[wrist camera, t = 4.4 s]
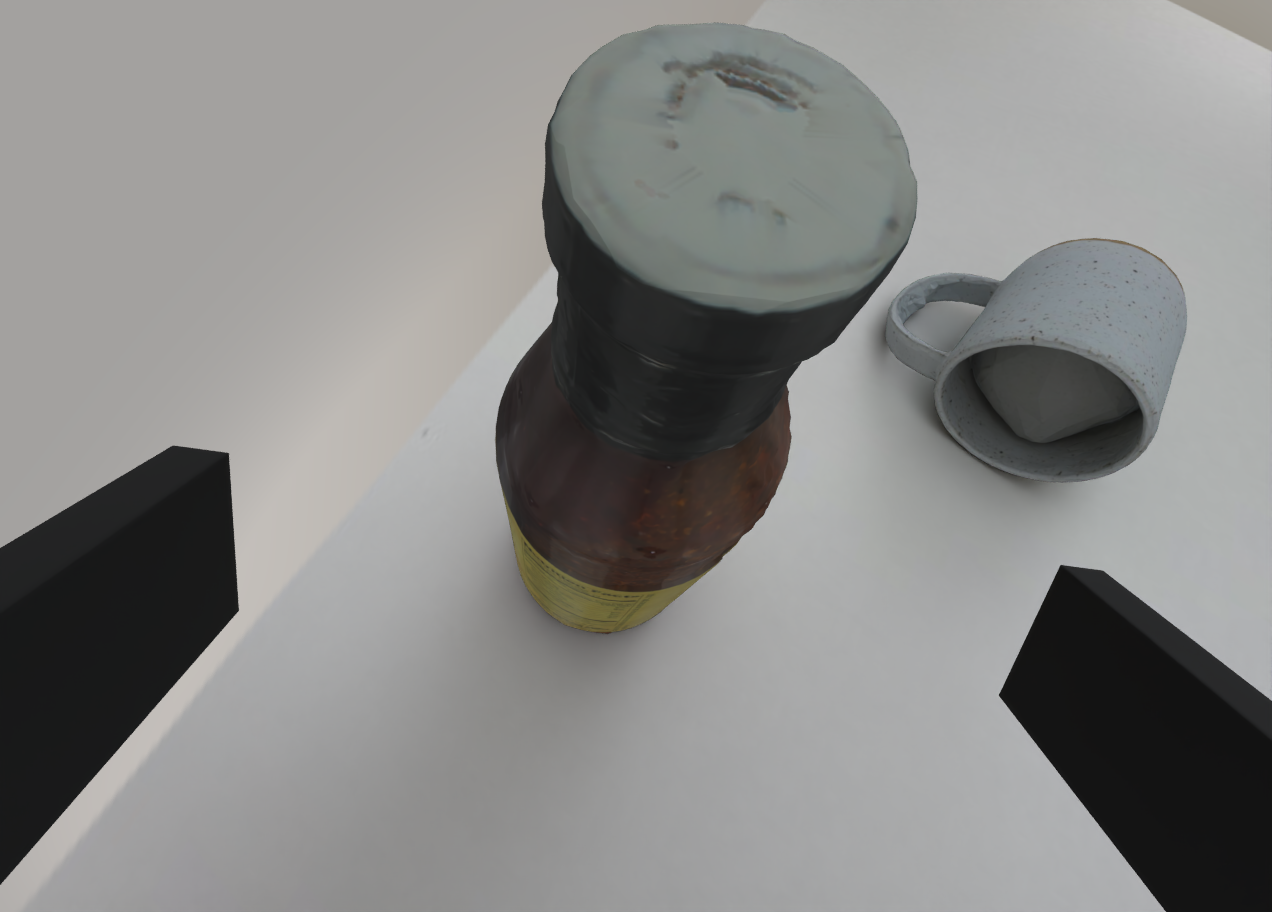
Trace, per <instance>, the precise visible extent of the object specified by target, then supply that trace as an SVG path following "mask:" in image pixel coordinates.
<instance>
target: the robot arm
mask: <svg viewBox="0 0 1272 912" xmlns="http://www.w3.org/2000/svg"><path fill="white" fill-rule="evenodd" d="M238 611H239V607H238V591H237V575H236V560H235V544H234V528H233V512H232V497H231V481H230V465H229V453H224V452H216V451H209V450H202V449H194V448H187V447H179V446H172V447H170V448H168V449H166V450H165V451H163V452H161V453H160V454H158V455H156V456H155V457H153V458H151V459H150V460H148V461H146V462H144V463H143V464H141V465H139V466H138V467H136V468H135V469H133V470H131V471H129V472H128V473H126V474H124V475H123V476H121V477H119V478H118V479H116V480H114V481H113V482H111V483H109V484H107V485H106V486H104V487H102V488H101V489H99V490H97V491H96V492H94V493H92V494H91V495H89V496H87V497H86V498H84V499H82V500H80V501H79V502H77V503H75V504H74V505H72V506H70V507H69V508H67V509H65V510H64V511H62V512H61V513H59V514H57V515H55V516H54V517H52V518H50V519H49V520H47V521H45V522H44V523H42V524H40V525H39V526H37V527H35V528H33V529H32V530H30V531H29V532H27V533H25V534H23V535H22V536H20V537H18V538H17V539H15V540H13V541H11V542H10V543H8V544H7V545H5V546H3V547H1V548H0V885H1V883H2V882H3V881H4V880H5V879H6V878H7V876H8V875H9V874H10V873H11V872H12V871H13V870H14V868H15V867H16V866H17V865H18V864H19V863H20V862H21V860H22V859H23V858H24V857H25V856H26V855H27V854H28V852H29V851H30V850H31V849H32V848H33V846H34V845H35V844H36V843H37V842H38V841H39V840H40V839H41V837H42V836H43V835H44V834H45V833H46V832H47V831H48V829H49V828H50V827H51V826H52V825H53V824H54V822H55V821H56V820H57V819H58V818H59V817H60V816H61V814H62V813H63V812H64V811H65V810H66V809H67V808H68V806H69V805H70V804H71V803H72V802H73V800H74V799H75V798H76V797H77V796H78V795H79V794H80V792H81V791H82V790H83V789H84V788H85V787H86V786H87V784H88V783H89V782H90V781H91V780H92V779H93V778H94V776H95V775H96V774H97V773H98V772H99V771H100V770H101V768H102V767H103V766H104V765H105V764H106V763H107V762H108V760H109V759H110V758H111V757H112V756H113V755H114V754H115V752H116V751H117V750H118V749H119V748H120V747H121V745H122V744H123V743H124V742H125V741H126V740H127V738H128V737H129V736H130V735H131V734H132V733H133V732H134V731H135V729H136V728H137V727H138V726H139V725H140V724H141V723H142V721H143V720H144V719H145V718H146V717H147V716H148V714H149V713H150V712H151V711H152V710H153V709H154V708H155V706H156V705H157V704H158V703H159V702H160V701H161V699H162V698H163V697H164V696H165V695H166V694H167V693H168V691H169V690H170V689H171V688H172V687H173V686H174V685H175V683H176V682H177V681H178V680H179V679H180V678H181V676H182V675H183V674H184V673H185V672H186V671H187V670H188V668H189V667H190V666H191V665H192V664H193V663H194V662H195V660H196V659H197V658H198V657H199V656H200V654H202V652H203V651H204V650H205V649H206V648H207V647H208V645H209V644H210V643H211V642H212V641H213V640H214V639H215V637H216V636H217V635H218V634H219V633H220V632H221V631H222V629H223V628H224V627H225V626H226V625H227V624H228V622H229V621H230V620H231V619H232V618H233V617H234V616H235V614H236V613H237V612H238ZM999 696H1000V698H1001V699H1002V700H1003V701H1004V703H1005V704H1006V705H1007V707H1008V708H1009V709H1010V711H1011V712H1012V713H1013V714H1014V716H1015V717H1016V718H1017V720H1018V721H1019V722H1020V723H1021V725H1022V726H1023V727H1024V729H1025V730H1026V731H1027V733H1028V734H1029V735H1030V736H1031V738H1032V739H1033V740H1034V742H1035V743H1036V744H1037V745H1038V747H1039V748H1040V749H1041V751H1042V752H1043V753H1044V755H1045V756H1046V757H1047V758H1048V760H1049V761H1050V762H1051V764H1052V765H1053V766H1054V767H1055V769H1056V770H1057V771H1058V773H1059V774H1060V775H1061V777H1062V778H1063V779H1064V780H1065V782H1066V783H1067V784H1068V786H1069V787H1070V788H1071V789H1072V791H1073V792H1074V793H1075V795H1076V796H1077V797H1078V799H1079V800H1080V801H1081V802H1082V804H1083V805H1084V806H1085V808H1086V809H1087V810H1088V811H1089V813H1090V814H1091V815H1092V817H1093V818H1094V819H1095V821H1096V822H1097V823H1098V824H1099V826H1100V827H1101V828H1102V830H1103V831H1104V832H1105V833H1106V835H1107V836H1108V837H1109V839H1110V840H1111V841H1112V843H1113V844H1114V845H1115V846H1116V848H1117V849H1118V850H1119V852H1120V853H1121V854H1122V855H1123V857H1124V858H1125V859H1126V861H1127V862H1128V863H1129V865H1130V866H1131V867H1132V868H1133V870H1134V871H1135V872H1136V874H1137V875H1138V876H1139V877H1140V879H1141V880H1142V881H1143V883H1144V884H1145V885H1146V887H1147V888H1148V889H1149V890H1150V892H1151V893H1152V894H1153V896H1154V897H1155V898H1156V899H1157V901H1158V902H1159V903H1160V905H1161V906H1162V907H1163V908H1164V910H1165V911H1166V912H1272V701H1271V700H1270V699H1269V698H1267V697H1266V696H1265V695H1263V694H1262V693H1261V692H1259V691H1258V690H1257V689H1256V688H1254V687H1253V686H1252V685H1250V684H1249V683H1248V682H1247V681H1245V680H1244V679H1243V678H1241V677H1240V676H1239V675H1237V674H1236V673H1235V672H1234V671H1232V670H1231V669H1230V668H1228V667H1227V666H1226V665H1224V664H1223V663H1222V662H1221V661H1219V660H1218V659H1217V658H1215V657H1214V656H1213V655H1212V654H1210V653H1209V652H1208V651H1206V650H1205V649H1204V648H1202V647H1201V646H1200V645H1199V644H1197V643H1196V642H1195V641H1193V640H1192V639H1191V638H1189V637H1188V636H1187V635H1186V634H1184V633H1183V632H1182V631H1180V630H1179V629H1178V628H1177V627H1175V626H1174V625H1173V624H1171V623H1170V622H1169V621H1167V620H1166V619H1165V618H1164V617H1162V616H1161V615H1160V614H1158V613H1157V612H1156V611H1154V610H1153V609H1152V608H1151V607H1149V606H1148V605H1147V604H1145V603H1144V602H1143V601H1142V600H1140V599H1139V598H1138V597H1136V596H1135V595H1134V594H1132V593H1131V592H1130V591H1129V590H1127V589H1126V588H1125V587H1123V586H1122V585H1121V584H1119V583H1118V582H1117V581H1116V580H1114V579H1113V578H1112V577H1110V576H1109V575H1108V574H1106V573H1105V572H1104V571H1101V570H1094V569H1086V568H1079V567H1071V566H1064V565H1060V567H1059V570H1058V572H1057V574H1056V576H1055V578H1054V580H1053V582H1052V584H1051V586H1050V589H1049V591H1048V593H1047V595H1046V597H1045V599H1044V601H1043V603H1042V605H1041V608H1040V610H1039V612H1038V614H1037V616H1036V618H1035V620H1034V622H1033V624H1032V627H1031V629H1030V631H1029V633H1028V635H1027V637H1026V639H1025V641H1024V643H1023V646H1022V648H1021V650H1020V652H1019V654H1018V656H1017V658H1016V660H1015V662H1014V665H1013V667H1012V669H1011V671H1010V673H1009V675H1008V677H1007V679H1006V681H1005V684H1004V686H1003V688H1002V690H1001V692H1000V694H999Z"/></svg>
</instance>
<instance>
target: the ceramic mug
mask: <svg viewBox="0 0 1272 912" xmlns="http://www.w3.org/2000/svg"><path fill="white" fill-rule="evenodd" d="M936 301H955V302H965V303H969V304H975V305H979V306H983V307H985V309H984V310H983V312H982V313H981V314H980V316H979V317H978V318H977V319H976V321H975V322H974V323H973V325H972V326H971V327H970V329H969V330H968V331H967V333H966V334H965V335H964V337H963V338H962V339H961V341H960V342H959V343H958V345H957V346H956V347H955V349H954V350H953V351H951V352H944V351H940V350H937V349H935V348H933V347H932V346H930V345H929V344H927V343H925V342H924V341H922V340H920V339H918V338H917V337H915V336H914V335H913V334H911V333H910V332H909V331H908V330H907V329H906V328H905V327H904V325H903V323H904V322H905V321H906V320H907V319H908V317H909V316H910V315H911V314H913V313H914V312H915V311H916V310H918V309H921V308H923V307H924V305H925V304H926V303H929V302H936ZM1186 325H1187V309H1186V300H1185V294H1184V291H1183V288H1182V285H1181V283H1180V281H1179V279H1178V278H1177V276H1176V274H1175V273H1174V272H1173V271H1172V270H1171V269H1170V268H1169V267H1168V266H1167V265H1166V264H1165V263H1164V262H1163V261H1162V259H1160V258H1158V257H1157V256H1155V255H1154V254H1152V253H1150V252H1149V251H1147V250H1145V249H1144V248H1141V247H1138V246H1135V245H1132V244H1129V243H1126V242H1123V241H1118V240H1110V239H1098V238H1091V239H1079V240H1071V241H1066V242H1063V243H1059V244H1056V245H1053V246H1051V247H1049V248H1047V249H1044V250H1042V251H1040V252H1038V253H1037V254H1035V255H1034V256H1032V257H1030V258H1029V259H1027V260H1026V261H1025V262H1023V263H1022V264H1021V265H1020V266H1019V267H1018V268H1016V269H1015V270H1014V271H1013V272H1012V273H1011V274H1010V275H1009V276H1008V277H1007V278H1006V279H1005V280H1003V281H998V280H994V279H991V278H987V277H982V276H976V275H972V274H959V273H943V274H938V275H933V276H929V277H926V278H922V279H919V280H917V281H915V282H914V283H912V284H910V285H909V286H907V287H906V288H904V289H903V290H902V291H901V292H900V293H899V294H898V295H897V297H896V298H895V299H894V300H893V302H892V304H891V306H890V308H889V310H888V316H887V324H886V334H885V336H886V340H887V343H888V345H889V347H890V350H891V351H892V352H893V353H894V355H895V356H896V358H897V359H899V360H900V361H901V362H902V363H904V364H905V365H907V366H908V367H910V368H912V369H914V370H915V371H917V372H919V373H920V374H922V375H924V376H926V377H929V378H931V379H933V380H935V381H936V382H935V387H934V399H935V406H936V410H937V413H938V415H939V417H940V419H941V421H942V423H943V425H944V427H945V428H946V429H947V431H948V432H949V433H950V434H951V435H952V436H953V438H954V439H955V440H956V441H957V442H958V443H959V444H960V445H962V446H963V447H964V448H965V449H966V450H967V451H969V452H970V453H971V454H973V455H974V456H976V457H977V458H979V459H981V460H982V461H984V462H986V463H987V464H989V465H991V466H993V467H995V468H998V469H1000V470H1003V471H1005V472H1008V473H1010V474H1013V475H1016V476H1021V477H1025V478H1029V479H1033V480H1038V481H1046V482H1078V481H1085V480H1091V479H1096V478H1099V477H1103V476H1106V475H1109V474H1112V473H1115V472H1116V471H1118V470H1120V469H1122V468H1124V467H1126V466H1128V465H1129V464H1131V463H1132V462H1133V461H1135V460H1136V459H1137V458H1138V457H1139V456H1140V455H1141V454H1142V453H1143V452H1144V451H1145V450H1146V449H1147V447H1148V445H1149V444H1150V442H1151V441H1152V439H1153V437H1154V436H1155V433H1156V431H1157V429H1158V425H1159V420H1160V416H1161V412H1162V409H1163V406H1164V403H1165V400H1166V397H1167V394H1168V391H1169V387H1170V384H1171V380H1172V376H1173V372H1174V368H1175V365H1176V362H1177V359H1178V356H1179V353H1180V350H1181V347H1182V344H1183V341H1184V337H1185V333H1186Z"/></svg>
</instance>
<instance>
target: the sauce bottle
mask: <svg viewBox="0 0 1272 912" xmlns="http://www.w3.org/2000/svg"><path fill="white" fill-rule="evenodd" d="M545 158H546V160H545V162H546V164H545V184H544V192H543V200H542V209H543V219H544V226H545V238H546V243H547V248H548V252H549V254H550V257H551V260H552V262H553V264H554V266H555V267H556V269H557V271H558V283H557V296H558V303H557V306H556V309H555V312H554V315H553V320H552V323H551V324H550V325H549V326H548V328H547V329H546V330H545V331H544V332H543V334H542V335H541V336H540V337H539V338H538V340H537V341H536V342H535V343H534V345H533V346H532V347H531V348H530V349H529V351H528V352H527V353H526V354H525V356H524V357H523V358H522V360H521V361H520V362H519V363H518V365H517V367H516V368H515V370H514V371H513V373H512V375H511V377H510V379H509V381H508V383H507V385H506V388H505V391H504V393H503V396H502V399H501V402H500V406H499V411H498V417H497V423H496V439H495V441H496V462H497V467H498V472H499V478H500V482H501V487H502V491H503V496H504V500H505V505H506V509H507V514H508V518H509V523H510V528H511V533H512V538H513V543H514V549H515V554H516V559H517V564H518V567H519V571H520V574H521V577H522V579H523V581H524V583H525V585H526V587H527V588H528V590H529V592H530V593H531V595H532V596H533V598H534V599H535V600H536V601H537V603H538V604H539V605H540V606H541V607H542V608H543V609H544V610H545V611H546V612H547V613H548V614H550V615H551V616H553V617H554V618H555V619H557V620H558V621H560V622H561V623H563V624H564V625H567V626H571V627H574V628H577V629H581V630H585V631H591V632H597V633H605V634H608V633H611V632H615V631H621V630H625V629H629V628H632V627H635V626H637V625H639V624H642V623H644V622H646V621H647V620H649V619H651V618H652V617H654V616H655V615H657V614H658V613H660V612H661V611H662V610H663V609H664V608H665V607H666V606H668V605H669V604H670V603H671V602H673V601H674V600H675V599H676V598H677V597H679V596H680V595H681V594H682V593H683V592H685V591H686V590H687V589H688V588H689V587H691V586H692V585H693V584H694V583H695V582H697V581H698V580H699V579H700V578H701V577H702V576H704V575H705V574H706V573H707V572H708V571H710V570H711V569H712V568H713V567H714V566H716V565H717V564H718V563H719V562H720V561H721V559H722V557H723V556H724V555H725V554H726V553H728V552H729V551H730V550H731V549H732V548H733V547H734V546H735V545H736V544H737V543H738V541H739V540H740V538H741V537H742V536H743V535H744V534H746V533H747V532H749V531H750V530H751V529H752V528H753V526H754V525H755V523H756V522H757V521H758V520H759V519H760V518H761V517H762V516H763V515H764V513H765V511H766V509H767V508H768V505H769V504H770V501H771V499H772V498H773V497H774V495H775V493H776V490H777V487H778V485H779V483H780V481H781V479H782V476H783V473H784V471H785V468H786V465H787V463H788V454H789V449H790V443H791V437H792V436H791V432H790V428H789V427H790V419H791V416H790V410H789V403H788V394H789V391H788V388H787V382H788V380H789V378H790V377H791V376H792V374H793V373H794V372H795V370H796V369H797V368H798V366H799V365H800V364H801V362H802V361H804V360H807V359H809V358H811V357H813V356H815V355H817V354H818V353H819V352H821V351H822V350H823V349H824V348H826V347H828V346H829V345H831V344H833V343H834V342H835V341H836V340H837V338H838V337H839V336H840V334H841V333H842V332H843V330H844V329H845V328H846V326H847V325H848V324H849V323H850V321H851V320H852V319H853V318H854V316H855V315H856V314H857V313H858V312H859V311H860V309H861V308H862V307H863V306H864V305H865V304H866V302H867V301H868V300H869V298H870V297H871V295H872V294H873V293H874V292H875V290H876V289H877V288H878V287H879V285H880V284H881V283H882V282H883V280H884V279H885V278H886V277H887V275H888V274H889V273H890V271H891V269H892V268H893V266H894V265H895V263H896V261H897V260H898V258H899V256H900V255H901V253H902V252H903V250H904V248H905V247H906V245H907V243H908V240H909V237H910V234H911V231H912V228H913V224H914V221H915V218H916V209H917V181H916V178H915V176H914V174H913V171H912V169H911V167H910V161H909V153H908V148H907V146H906V143H905V140H904V138H903V135H902V132H901V130H900V128H899V126H898V124H897V122H896V120H895V119H894V118H893V116H892V115H891V114H890V112H889V111H888V110H887V108H886V107H885V106H884V105H883V103H882V102H881V101H880V100H879V98H878V97H877V96H876V95H875V94H874V93H873V92H872V91H871V90H870V89H869V88H868V87H867V86H866V85H865V84H864V83H863V82H862V81H861V80H859V79H858V78H857V77H856V76H855V75H854V74H853V73H851V72H850V71H849V70H848V69H847V68H846V67H844V66H843V65H842V64H840V63H838V62H837V61H835V60H833V59H832V58H830V57H828V56H827V55H825V54H823V53H821V52H820V51H818V50H816V49H815V48H813V47H810V46H808V45H805V44H803V43H800V42H797V41H795V40H793V39H792V38H790V37H788V36H787V35H785V34H782V33H777V32H772V31H768V30H762V29H754V28H750V27H747V26H744V25H737V24H725V23H703V24H689V25H687V24H686V25H685V24H684V25H657V26H654V27H651V28H648V29H646V30H642V31H637V32H633V33H629V34H624V35H621V36H620V37H618V38H616V39H614V40H613V41H611V42H609V43H608V44H606V45H604V46H602V47H601V48H600V49H598V50H597V51H596V52H595V53H593V54H592V55H590V56H589V58H588V59H587V60H586V61H585V62H584V63H583V64H582V65H581V66H580V67H579V68H578V69H577V70H576V71H575V72H574V73H573V75H571V77H570V79H569V81H568V83H567V85H566V87H565V90H564V91H563V93H562V95H561V97H560V99H559V100H558V103H557V106H556V109H555V112H554V114H553V116H552V118H551V120H550V122H549V124H548V129H547V135H546V142H545Z"/></svg>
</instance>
